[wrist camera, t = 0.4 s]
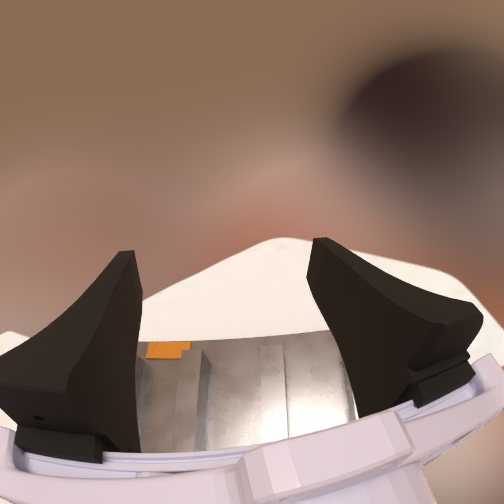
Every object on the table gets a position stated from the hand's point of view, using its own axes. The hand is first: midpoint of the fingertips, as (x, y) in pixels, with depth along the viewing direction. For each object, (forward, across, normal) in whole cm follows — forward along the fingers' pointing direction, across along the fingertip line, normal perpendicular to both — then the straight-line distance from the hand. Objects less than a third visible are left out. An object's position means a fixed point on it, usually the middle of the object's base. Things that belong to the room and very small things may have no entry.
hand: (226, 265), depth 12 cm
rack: (+2, -1, +20) cm, 20 cm away
